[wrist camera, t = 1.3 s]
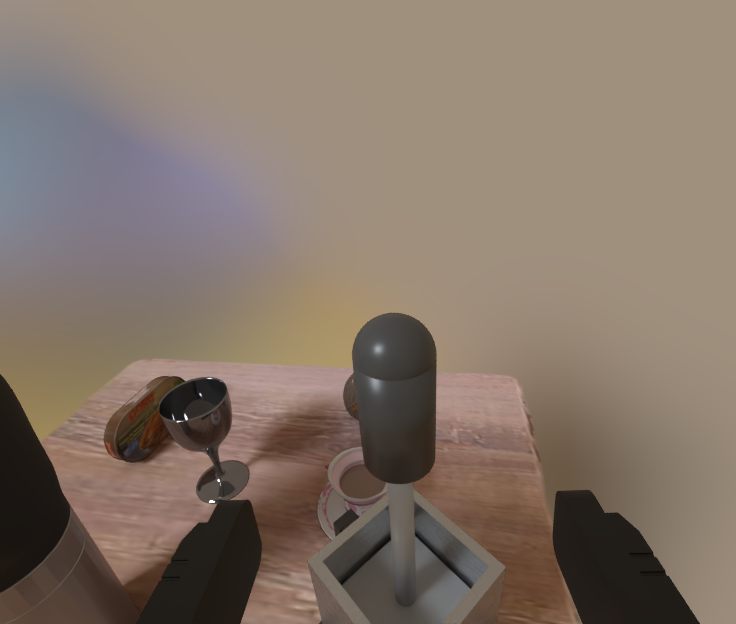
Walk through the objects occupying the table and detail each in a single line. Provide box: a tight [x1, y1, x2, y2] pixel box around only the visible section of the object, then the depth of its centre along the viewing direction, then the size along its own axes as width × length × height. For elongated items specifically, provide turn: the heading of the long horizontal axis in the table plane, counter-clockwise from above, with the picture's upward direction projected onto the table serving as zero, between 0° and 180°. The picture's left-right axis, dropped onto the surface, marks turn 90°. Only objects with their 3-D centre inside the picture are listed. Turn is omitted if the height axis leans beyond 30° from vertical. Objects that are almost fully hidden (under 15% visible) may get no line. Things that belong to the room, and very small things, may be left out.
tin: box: [104, 376, 185, 463], centre depth 63 cm, size 15×3×8 cm, turn 163°
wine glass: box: [158, 377, 249, 504], centre depth 53 cm, size 8×8×15 cm
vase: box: [343, 373, 359, 420], centre depth 64 cm, size 7×7×9 cm
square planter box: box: [307, 489, 506, 624], centre depth 33 cm, size 16×16×16 cm
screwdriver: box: [342, 313, 470, 624], centre depth 25 cm, size 8×8×25 cm
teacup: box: [318, 447, 388, 540], centre depth 50 cm, size 12×12×6 cm
